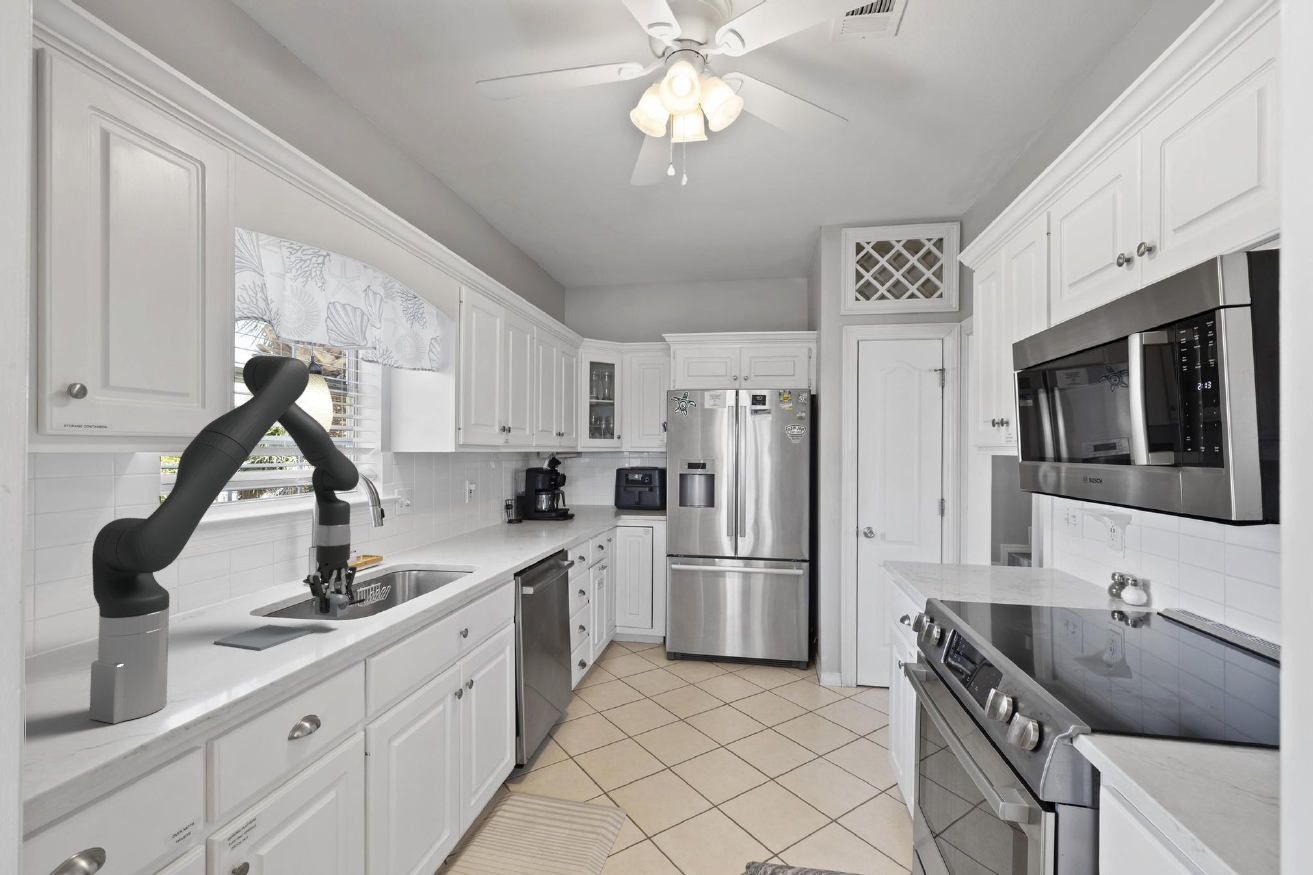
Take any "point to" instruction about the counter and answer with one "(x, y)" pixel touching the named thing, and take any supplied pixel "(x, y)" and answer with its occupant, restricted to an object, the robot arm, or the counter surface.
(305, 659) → the counter surface
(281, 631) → the slate mat
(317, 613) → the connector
